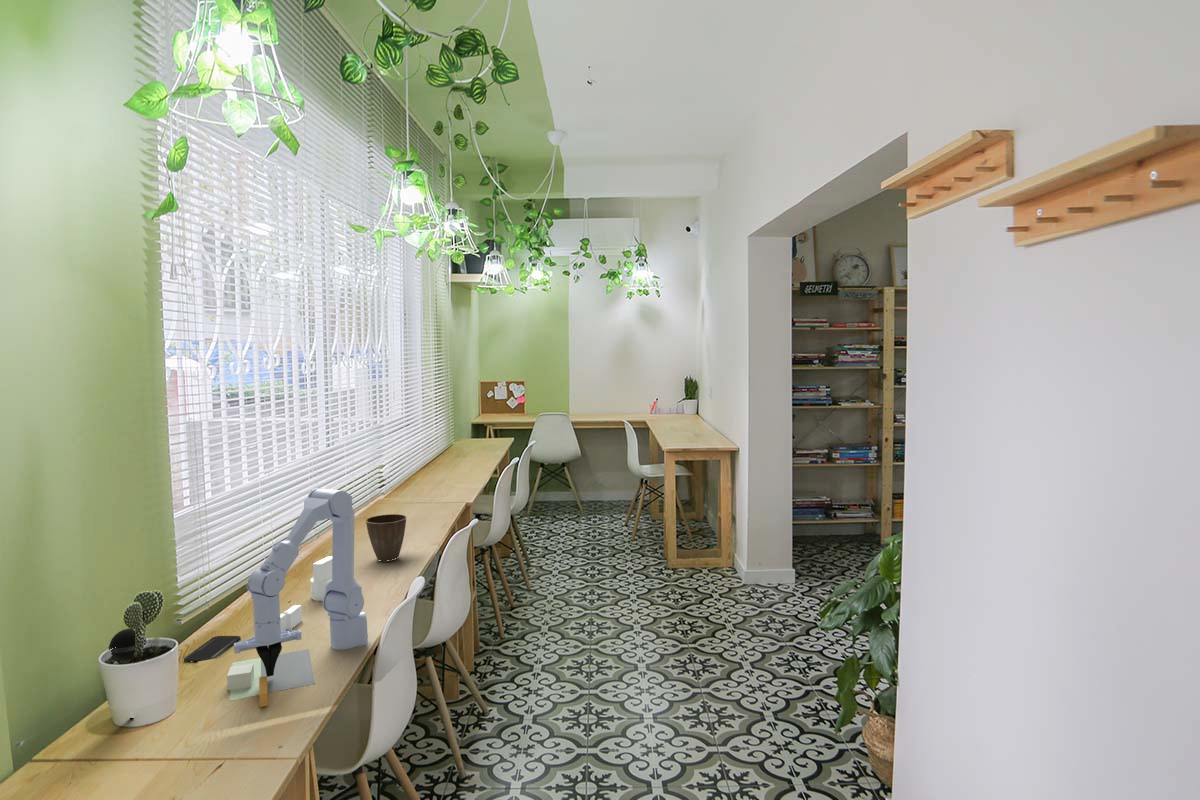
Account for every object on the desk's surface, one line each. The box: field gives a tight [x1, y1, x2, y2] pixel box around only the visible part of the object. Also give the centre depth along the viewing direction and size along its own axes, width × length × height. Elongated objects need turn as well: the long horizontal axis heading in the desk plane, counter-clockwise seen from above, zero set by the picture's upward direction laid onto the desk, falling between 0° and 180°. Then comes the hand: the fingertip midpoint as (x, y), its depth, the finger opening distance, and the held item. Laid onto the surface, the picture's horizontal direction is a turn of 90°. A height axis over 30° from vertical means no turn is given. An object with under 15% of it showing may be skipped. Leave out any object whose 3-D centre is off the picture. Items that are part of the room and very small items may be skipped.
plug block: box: [226, 664, 254, 691], centre depth 167 cm, size 5×5×4 cm
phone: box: [183, 635, 242, 663], centre depth 189 cm, size 8×1×15 cm
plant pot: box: [365, 513, 407, 561], centre depth 270 cm, size 15×15×16 cm
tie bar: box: [258, 676, 269, 708], centre depth 159 cm, size 2×9×3 cm, turn 26°
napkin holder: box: [280, 604, 303, 632], centre depth 203 cm, size 15×11×6 cm
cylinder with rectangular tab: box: [310, 555, 332, 602], centre depth 230 cm, size 9×9×12 cm
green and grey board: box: [229, 648, 316, 702], centre depth 173 cm, size 18×22×1 cm
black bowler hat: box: [107, 628, 147, 664], centre depth 153 cm, size 7×7×20 cm
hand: (269, 674), depth 169 cm, fingers closed
